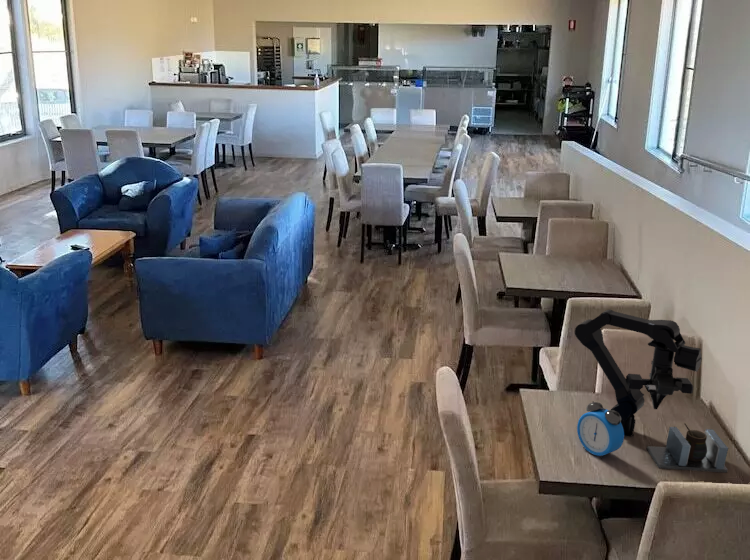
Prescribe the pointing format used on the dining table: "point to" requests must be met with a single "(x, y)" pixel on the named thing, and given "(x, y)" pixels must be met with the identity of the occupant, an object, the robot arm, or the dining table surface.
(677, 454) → the free jaw
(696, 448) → the mate gourd
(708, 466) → the vise bed
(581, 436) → the alarm clock
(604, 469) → the dining table surface
